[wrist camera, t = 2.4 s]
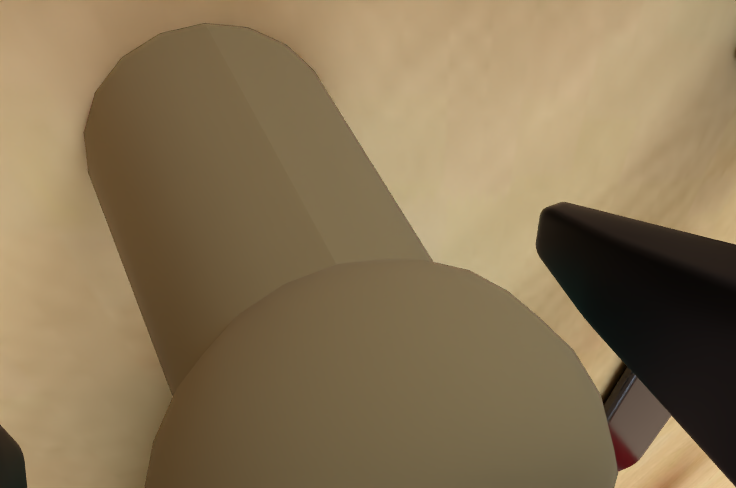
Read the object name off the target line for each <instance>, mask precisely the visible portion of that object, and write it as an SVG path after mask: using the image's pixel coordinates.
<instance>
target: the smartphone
mask: <svg viewBox="0 0 736 488" xmlns="http://www.w3.org/2000/svg"><path fill="white" fill-rule="evenodd" d="M604 410H605V414H606V418H607V422H608V426H609V431H610V435H611V439H612V443H613V447H614V452H615V458H616V464H617V470H618V471H621V470H623V469H626V468H628V467H630V466H632V465H633V464H635V463H636V462H637V461H638V460H639V459H640V458H641V457H642V456H643V454H644V453H645V452H646V450H647V449H648V447H649V446H650V445H651V443H652V442H653V440H654V439H655V438H656V436H657V435H658V433H659V432H660V431H661V429H662V428H663V427H664V425H665V424H666V422H667V421H668V420H669V418H670V417H671V414H670V413H669V412H668V411H667V410H666V409H665V408H664V407H663V405H662V404H661V403H660V402H659V401H658V400H657V399H656V398H655V397H654V395H653V394H652V393H651V392H650V391H649V390H648V389H647V388H646V387H645V385H644V384H643V383H642V382H641V381H640V380H639V379H638V378H637V377H636V375H635V374H634V373H633V372H632V371H631V370H630V369H629V368H628V367H627V368H626V370H625V371H624V373H623V375H622V376H621V378H620V379H619V381H618V383H617V384H616V386H615V388H614V389H613V391H612V393H611V394H610V396H609V398H608V399H607V401H606V403H605V404H604Z"/></svg>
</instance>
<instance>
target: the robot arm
mask: <svg viewBox="0 0 736 488" xmlns="http://www.w3.org/2000/svg"><path fill="white" fill-rule="evenodd" d="M536 249H537V253H538V255H539V257H540V258H541V260H542V261H543V262H544V264H545V265H546V267H547V268H548V269H549V271H550V272H551V273H552V275H553V276H554V277H555V279H556V280H557V282H558V283H559V284H560V286H561V287H562V288H563V290H564V291H565V293H566V294H567V295H568V297H569V298H570V299H571V301H572V302H573V304H574V305H575V306H576V308H577V309H578V310H579V312H580V313H581V314H582V315H583V317H584V318H585V319H586V320H587V322H588V323H589V324H590V325H591V326H592V328H593V329H594V330H595V331H596V332H597V333H598V334H599V335H600V337H601V338H602V339H603V340H604V341H605V342H606V343H607V344H608V345H609V347H610V348H611V349H612V350H613V351H614V352H615V353H616V354H617V355H618V357H619V358H620V359H621V360H622V361H623V362H624V363H625V364H626V365H627V367H628V368H629V369H630V370H631V371H632V372H633V373H634V374H635V375H636V377H637V378H638V379H639V380H640V381H641V382H642V383H643V384H644V385H645V387H646V388H647V389H648V390H649V391H650V392H651V393H652V394H653V395H654V397H655V398H656V399H657V400H658V401H659V402H660V403H661V404H662V405H663V407H664V408H665V409H666V410H667V411H668V412H669V413H670V414H671V415H672V417H673V418H674V419H675V420H676V421H677V422H678V423H679V424H680V425H681V427H682V428H683V429H684V430H685V431H686V432H687V433H688V434H689V435H690V437H691V438H692V439H693V440H694V441H695V442H696V443H697V444H698V445H699V447H700V448H701V449H702V450H703V451H704V452H705V453H706V454H707V455H708V457H709V458H710V459H711V460H712V461H713V462H714V463H715V464H716V465H717V467H718V468H719V469H720V470H721V471H722V472H723V473H724V474H725V475H726V477H727V478H728V479H729V480H730V481H731V482H732V483H733V484H734V486H735V487H736V245H735V244H731V243H727V242H723V241H719V240H715V239H711V238H707V237H703V236H699V235H695V234H691V233H687V232H683V231H679V230H675V229H671V228H667V227H663V226H659V225H655V224H651V223H647V222H643V221H639V220H635V219H631V218H627V217H623V216H619V215H615V214H611V213H607V212H603V211H599V210H595V209H591V208H587V207H583V206H579V205H575V204H571V203H567V202H561V203H557V204H555V205H552V206H549V207H546V208H545V209H543V210H542V212H541V214H540V218H539V225H538V231H537V238H536ZM0 488H27V481H26V471H25V461H24V456H23V453H22V450H21V448H20V446H19V445H18V444H17V442H16V441H15V440H14V439H13V438H12V437H11V436H10V435H9V434H8V433H7V432H6V431H5V429H4V428H3V427H2V426H1V425H0Z"/></svg>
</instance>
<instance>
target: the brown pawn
mask: <svg viewBox="0 0 736 488" xmlns="http://www.w3.org/2000/svg"><path fill="white" fill-rule="evenodd" d="M84 138H85V147H86V157H87V166H88V173H89V176H90V178H91V181H92V184H93V186H94V189H95V192H96V194H97V197H98V200H99V202H100V205H101V208H102V210H103V213H104V215H105V218H106V221H107V223H108V226H109V229H110V231H111V234H112V237H113V239H114V242H115V245H116V247H117V250H118V253H119V255H120V258H121V261H122V263H123V266H124V268H125V271H126V274H127V276H128V279H129V282H130V284H131V287H132V290H133V292H134V295H135V298H136V300H137V303H138V306H139V308H140V311H141V314H142V316H143V319H144V322H145V324H146V327H147V329H148V332H149V335H150V337H151V340H152V343H153V345H154V348H155V351H156V353H157V356H158V359H159V361H160V364H161V367H162V369H163V372H164V375H165V377H166V380H167V383H168V385H169V388H170V390H171V393H172V396H173V398H172V400H171V402H170V405H169V407H168V409H167V412H166V414H165V416H164V418H163V421H162V423H161V425H160V428H159V430H158V432H157V435H156V437H155V439H154V441H153V446H152V451H151V457H150V462H149V467H148V473H147V478H146V483H145V488H614V486H615V483H616V479H617V475H618V470H617V464H616V458H615V452H614V447H613V443H612V439H611V435H610V431H609V426H608V422H607V418H606V414H605V410H604V406H603V402H602V398H601V394H600V393H599V391H598V389H597V388H596V386H595V384H594V383H593V381H592V380H591V378H590V376H589V375H588V373H587V371H586V370H585V368H584V366H583V365H582V363H581V361H580V360H579V358H578V357H577V355H576V353H575V352H574V350H573V349H572V348H571V347H570V346H569V345H568V344H567V343H566V342H565V341H564V340H562V339H561V338H560V337H559V336H558V335H557V334H556V333H555V332H554V331H553V330H552V329H551V328H550V327H549V326H548V325H547V324H546V323H545V322H544V321H542V320H541V319H540V318H539V317H538V316H537V315H536V314H535V313H533V312H532V311H531V310H530V309H529V308H528V307H526V306H525V305H524V304H523V303H522V302H520V301H519V300H518V299H517V298H516V297H514V296H513V295H512V294H511V293H510V292H508V291H507V290H505V289H503V288H501V287H499V286H497V285H496V284H494V283H492V282H490V281H488V280H486V279H484V278H483V277H481V276H479V275H477V274H475V273H473V272H472V271H470V270H466V269H462V268H457V267H453V266H448V265H444V264H439V263H435V262H433V261H432V259H431V257H430V256H429V254H428V253H427V251H426V249H425V248H424V246H423V245H422V243H421V241H420V240H419V238H418V237H417V235H416V233H415V232H414V230H413V229H412V227H411V225H410V224H409V222H408V221H407V219H406V217H405V216H404V214H403V213H402V211H401V209H400V208H399V206H398V205H397V203H396V201H395V200H394V198H393V197H392V195H391V193H390V192H389V190H388V189H387V187H386V185H385V184H384V182H383V181H382V179H381V177H380V176H379V174H378V173H377V171H376V169H375V168H374V166H373V165H372V163H371V161H370V160H369V158H368V156H367V155H366V153H365V152H364V150H363V148H362V147H361V145H360V144H359V142H358V140H357V139H356V137H355V136H354V134H353V132H352V131H351V129H350V128H349V126H348V124H347V123H346V121H345V120H344V118H343V116H342V115H341V113H340V112H339V110H338V108H337V107H336V105H335V104H334V102H333V100H332V99H331V97H330V96H329V94H328V92H327V91H326V89H325V88H324V86H323V84H322V83H321V81H320V80H319V78H318V76H317V75H316V73H315V72H314V71H313V70H312V69H311V68H310V67H309V66H308V65H307V64H306V63H305V62H304V61H303V60H302V59H301V58H300V57H299V56H298V55H297V54H295V53H294V52H293V51H292V50H291V49H290V48H289V47H288V46H287V45H285V44H283V43H281V42H279V41H277V40H274V39H272V38H270V37H268V36H266V35H263V34H261V33H259V32H257V31H255V30H252V29H250V28H246V27H236V26H226V25H217V24H207V23H204V24H200V25H195V26H191V27H186V28H182V29H178V30H173V31H169V32H164V33H160V34H159V35H157V36H155V37H154V38H152V39H151V40H149V41H148V42H146V43H144V44H143V45H141V46H140V47H138V48H136V49H135V50H133V51H132V52H130V53H129V54H127V55H125V56H124V57H122V58H121V59H120V61H119V62H118V63H117V65H116V66H115V67H114V69H113V70H112V71H111V73H110V74H109V75H108V77H107V78H106V79H105V81H104V82H103V83H102V84H101V86H100V87H99V88H98V90H97V91H96V92H95V95H94V99H93V102H92V106H91V109H90V113H89V117H88V120H87V124H86V127H85V131H84Z"/></svg>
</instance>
